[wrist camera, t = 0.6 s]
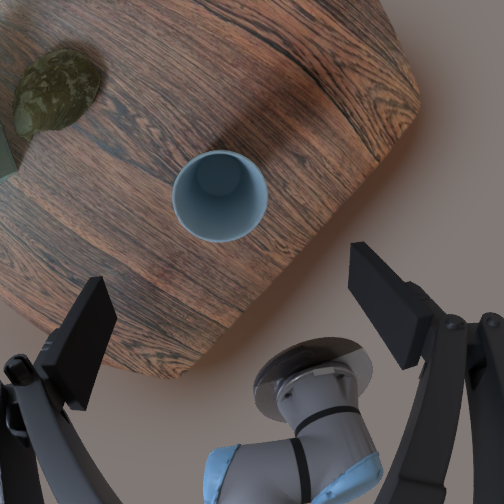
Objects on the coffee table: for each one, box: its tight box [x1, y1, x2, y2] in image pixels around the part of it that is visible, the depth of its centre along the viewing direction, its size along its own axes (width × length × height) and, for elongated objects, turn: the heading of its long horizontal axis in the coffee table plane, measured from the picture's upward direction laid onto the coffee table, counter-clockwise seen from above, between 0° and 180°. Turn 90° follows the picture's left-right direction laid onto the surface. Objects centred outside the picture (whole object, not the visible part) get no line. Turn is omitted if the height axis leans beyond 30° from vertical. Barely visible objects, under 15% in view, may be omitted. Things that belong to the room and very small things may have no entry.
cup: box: [172, 150, 268, 242], centre depth 29 cm, size 8×8×10 cm
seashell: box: [12, 48, 101, 141], centre depth 25 cm, size 10×7×10 cm
